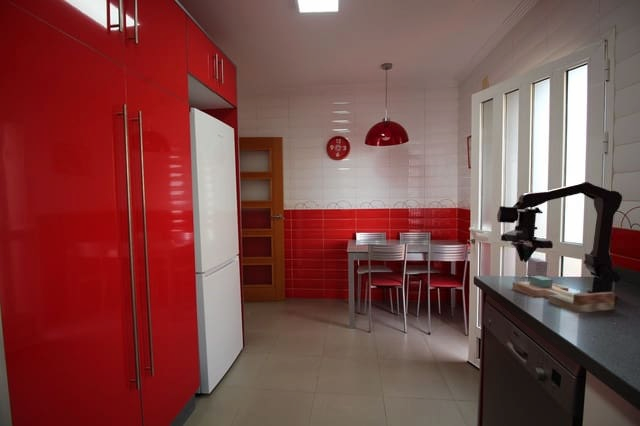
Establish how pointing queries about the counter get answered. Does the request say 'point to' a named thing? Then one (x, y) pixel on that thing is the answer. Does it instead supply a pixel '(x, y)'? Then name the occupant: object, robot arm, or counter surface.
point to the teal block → (541, 281)
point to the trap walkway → (569, 297)
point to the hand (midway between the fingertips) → (523, 261)
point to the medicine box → (536, 267)
